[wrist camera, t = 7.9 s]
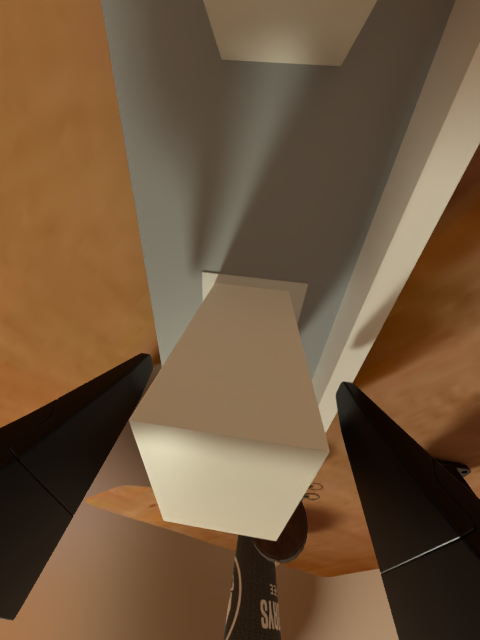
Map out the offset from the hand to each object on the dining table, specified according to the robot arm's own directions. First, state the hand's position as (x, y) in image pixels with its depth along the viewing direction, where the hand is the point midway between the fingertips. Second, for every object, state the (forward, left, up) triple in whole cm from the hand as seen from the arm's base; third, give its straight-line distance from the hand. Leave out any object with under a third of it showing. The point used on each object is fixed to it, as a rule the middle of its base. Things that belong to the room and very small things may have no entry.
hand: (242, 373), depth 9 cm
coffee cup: (-47, -6, -5) cm, 48 cm away
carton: (0, 0, -3) cm, 3 cm away
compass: (-24, -7, -5) cm, 25 cm away
